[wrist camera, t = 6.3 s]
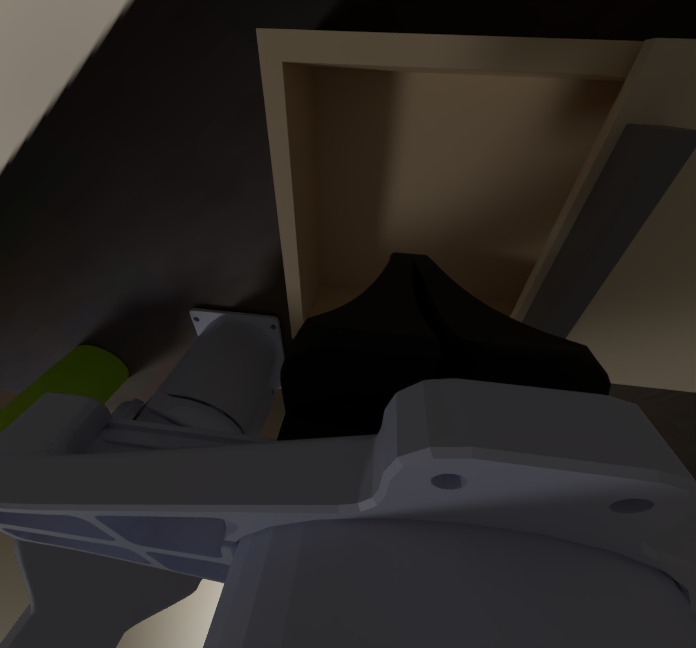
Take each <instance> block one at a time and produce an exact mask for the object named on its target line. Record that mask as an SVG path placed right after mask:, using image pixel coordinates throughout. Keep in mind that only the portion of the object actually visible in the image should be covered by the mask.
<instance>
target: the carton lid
mask: <svg viewBox="0 0 696 648" xmlns="http://www.w3.org/2000/svg"><path fill="white" fill-rule="evenodd" d="M510 317H511V318H513V319H515V320H517V321H519V322H522V323H524V324H526V325H529V326H531V327H534V328H536V329H539V330H541V331H544V332H546V333H549V334H552V335H555V336H558V337H561V338H564V339H567V340H571V341H574V342H577V343H580V344H583V345H586V346H587V347H588V348H589V349H590V351H591V352H592V354H593V355H594V356H595V358H596V359H597V360H598V362H599V363H600V364H601V366H602V367H603V368H604V370H605V371H606V372H607V374H608V376H609V380H610V383H615V384H624V385H633V386H642V387H651V388H660V389H669V390H678V391H687V392H696V39H677V38H653V39H648V40H645V42H644V44H643V46H642V48H641V50H640V52H639V54H638V56H637V58H636V60H635V62H634V64H633V66H632V68H631V70H630V72H629V74H628V76H627V78H626V80H625V82H624V85H623V87H622V89H621V91H620V93H619V95H618V97H617V99H616V101H615V103H614V105H613V107H612V109H611V111H610V113H609V115H608V117H607V119H606V121H605V123H604V125H603V127H602V130H601V132H600V134H599V136H598V138H597V140H596V142H595V144H594V146H593V148H592V150H591V152H590V154H589V156H588V158H587V160H586V162H585V164H584V166H583V168H582V170H581V172H580V174H579V177H578V179H577V181H576V183H575V185H574V187H573V189H572V191H571V193H570V195H569V197H568V199H567V201H566V203H565V205H564V207H563V209H562V211H561V213H560V215H559V217H558V219H557V222H556V224H555V226H554V228H553V230H552V232H551V234H550V236H549V238H548V240H547V242H546V244H545V246H544V248H543V250H542V252H541V254H540V256H539V258H538V260H537V262H536V264H535V266H534V269H533V271H532V273H531V275H530V277H529V279H528V281H527V283H526V285H525V287H524V289H523V291H522V293H521V295H520V297H519V299H518V301H517V303H516V305H515V307H514V309H513V311H512V314H511V316H510Z"/></svg>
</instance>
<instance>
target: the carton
mask: <svg viewBox="0 0 696 648" xmlns="http://www.w3.org/2000/svg"><path fill="white" fill-rule="evenodd" d="M256 32H257V41H258V49H259V58H260V67H261V75H262V84H263V93H264V101H265V110H266V118H267V127H268V136H269V144H270V153H271V161H272V170H273V179H274V187H275V196H276V204H277V213H278V222H279V230H280V239H281V247H282V256H283V265H284V273H285V282H286V291H287V299H288V308H289V316H290V325H291V334H292V339H294V337H295V336H296V334H297V332H298V331H299V329H300V328H301V326H302V325H303V323H304V322H305V320H306V319H307V318H309V317H313V316H316V315H319V314H322V313H325V312H328V311H331V310H334V309H336V308H338V307H340V306H342V305H344V304H346V303H348V302H350V301H352V300H353V299H355V298H356V297H357V296H359V295H360V294H361V293H363V292H364V291H365V290H366V289H367V288H368V287H369V286H370V285H371V284H372V283H373V282H374V281H375V280H376V279H377V278H378V276H379V275H380V274H381V273H382V271H383V270H384V268H385V267H386V265H387V263H388V262H389V260H390V255H391V254H392V253H394V252H397V253H409V254H421V255H427V256H428V257H430V258H431V259H432V260H433V261H434V262H435V263H436V264H437V265H438V266H439V267H440V268H441V269H442V270H443V271H444V272H445V273H446V274H447V275H448V276H449V277H450V278H451V279H452V280H454V281H455V282H456V283H457V284H458V285H460V286H461V287H462V288H463V289H464V290H466V291H467V292H468V293H470V294H471V295H473V296H474V297H476V298H477V299H479V300H480V301H482V302H483V303H485V304H486V305H488V306H490V307H492V308H493V309H495V310H497V311H499V312H501V313H503V314H505V315H507V316H509V317H510V316H511V314H512V311H513V309H514V307H515V305H516V303H517V301H518V299H519V297H520V295H521V293H522V291H523V289H524V287H525V285H526V283H527V281H528V279H529V277H530V275H531V273H532V271H533V269H534V266H535V264H536V262H537V260H538V258H539V256H540V254H541V252H542V250H543V248H544V246H545V244H546V242H547V240H548V238H549V236H550V234H551V232H552V230H553V228H554V226H555V224H556V222H557V219H558V217H559V215H560V213H561V211H562V209H563V207H564V205H565V203H566V201H567V199H568V197H569V195H570V193H571V191H572V189H573V187H574V185H575V183H576V181H577V179H578V177H579V174H580V172H581V170H582V168H583V166H584V164H585V162H586V160H587V158H588V156H589V154H590V152H591V150H592V148H593V146H594V144H595V142H596V140H597V138H598V136H599V134H600V132H601V130H602V127H603V125H604V123H605V121H606V119H607V117H608V115H609V113H610V111H611V109H612V107H613V105H614V103H615V101H616V99H617V97H618V95H619V93H620V91H621V89H622V87H623V85H624V82H625V80H626V78H627V76H628V74H629V72H630V70H631V68H632V66H633V64H634V62H635V60H636V58H637V56H638V54H639V52H640V50H641V48H642V46H643V44H644V42H645V41H622V40H592V39H561V38H531V37H501V36H471V35H441V34H410V33H380V32H350V31H320V30H290V29H259V28H256Z"/></svg>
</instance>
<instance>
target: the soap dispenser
mask: <svg viewBox="0 0 696 648" xmlns="http://www.w3.org/2000/svg"><path fill="white" fill-rule="evenodd" d="M128 377H129V371H128V368H127V367H126V365H125V364H124V363H123V362H122V361H121V360H120V359H119V358H118V357H116V356H115V355H113V354H112V353H110V352H108V351H106V350H104V349H102V348H99V347H96V346H91V345H80V346H77V347H76V348H75V349H73V350H72V351H71V352H70V353H69V354H67V355H66V356H65V357H64V358H62V359H61V360H60V361H59V362H58V363H56V364H55V365H54V366H53V367H52V368H50V369H49V370H48V371H47V372H46V373H44V374H43V375H42V376H41V377H40V378H38V379H37V380H36V381H35V382H33V383H32V384H31V385H30V386H29V387H27V388H26V389H25V390H24V391H23V392H21V393H20V394H19V395H18V396H17V397H15V398H14V399H13V400H12V401H11V402H9V403H8V404H7V405H6V406H5V407H3V408H2V409H1V410H0V433H1V432H2V431H3V430H5V429H6V428H7V427H8V426H9V425H10V424H11V423H12V422H14V421H15V420H16V419H17V418H18V417H19V416H20V415H22V414H23V413H24V412H25V411H26V410H27V409H28V408H29V407H31V406H32V405H33V404H34V403H35V402H36V401H37V400H38V399H40V398H41V397H42V396H43V395H44V394H45V393H46V392H57V393H65V394H73V395H81V396H88V397H91V398H94V399H96V400H98V401H100V402H101V403H103V404H105V403H106V402H107V400H108V399H109V398H110V397H111V396H112V395H113V394H114V393H115V392H116V390H117V389H118V388H119V387H120V386H121V385H122V384H123V383H124V382H125V381H126V379H127V378H128Z"/></svg>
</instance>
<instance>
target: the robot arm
mask: <svg viewBox="0 0 696 648" xmlns="http://www.w3.org/2000/svg"><path fill="white" fill-rule="evenodd" d="M189 313H190V316H191V319H192V321H193V324H194V327H195V329H196V332H197V334H198V338H197V339H196V341H195V342H194V343H193V345H192V346H191V347H190V348H189V350H188V351H187V352H186V354H185V355H184V356H183V357H182V359H181V360H180V361H179V363H178V364H177V365H176V367H175V368H174V369H173V370H172V372H171V373H170V374H169V376H168V377H167V378H166V380H165V381H164V382H163V383H162V385H161V386H160V387H159V389H158V390H157V391H156V392H155V394H154V395H153V396H152V397H151V398H150V399H149V400H148V401H147V402H146V403H145V404H144V405H143V403H144V402H143V401H141V400H139V399H133V400H132V401H127V402H123V403H121V404H120V405H119V406H118V407H117V408H116V409H115V411H114V412H113V413H112V414H111V413H110V412H109V410H108V409H107V407H106V406H105V405H104V404H103V403H101V402H100V401H98V400H96V399H94V398H91V397H88V396H81V395H73V394H65V393H57V392H46V393H45V394H44V395H43V396H42V397H41V398H40V399H38V400H37V401H36V402H35V403H34V404H33V405H32V406H31V407H29V408H28V409H27V410H26V411H25V412H24V413H23V414H22V415H20V416H19V417H18V418H17V419H16V420H15V421H14V422H12V423H11V424H10V425H9V426H8V427H7V428H6V429H5V430H3V431H2V432H1V433H0V531H1V532H3V533H5V534H7V535H9V536H12V537H14V538H16V541H15V542H14V551H15V556H16V559H17V562H18V565H19V568H20V571H21V574H22V578H23V580H24V584H25V587H26V590H27V593H28V596H29V599H30V604H29V606H28V607H27V608H26V610H25V611H24V612H23V614H22V615H21V616H20V618H19V619H18V621H17V622H16V623H15V625H14V626H13V627H12V629H11V630H10V631H9V633H8V634H7V635H6V637H5V638H4V640H3V641H2V642H1V644H0V648H116V646H117V645H118V643H119V641H120V639H121V638H122V636H123V634H124V633H125V632H126V631H127V630H128V629H130V628H131V627H133V626H134V625H136V624H138V623H140V622H141V621H143V620H145V619H147V618H148V617H150V616H152V615H154V614H156V613H158V612H160V611H162V610H163V609H166V608H168V607H169V606H171V605H173V604H175V603H177V602H178V601H180V600H182V599H184V598H186V597H187V596H189V595H191V594H192V593H193V592H194V591H195V590H196V589H197V587H198V585H199V583H200V581H201V580H202V579H208V580H212V581H217V582H221V583H225V584H224V587H223V590H222V593H221V596H220V599H219V602H218V605H217V607H216V611H215V614H214V617H213V620H212V623H211V626H210V628H209V632H208V634H207V637H206V640H205V643H204V646H203V648H696V481H695V479H694V478H693V477H692V476H691V474H690V473H689V472H688V470H687V469H686V468H685V466H684V465H683V464H682V463H681V461H680V460H679V459H678V457H677V456H676V455H675V453H674V452H673V451H672V450H671V448H670V447H669V446H668V444H667V443H666V442H665V440H664V439H663V438H662V437H661V435H660V434H659V433H658V431H657V430H656V429H655V427H654V426H653V425H652V424H651V422H650V421H649V420H648V418H647V417H646V416H645V414H644V413H643V412H642V410H641V409H640V408H639V407H638V405H636V404H633V403H630V402H626V401H623V400H620V399H617V398H614V397H611V396H608V395H609V391H610V386H611V383H610V380H609V376H608V374H607V372H606V371H605V370H604V368H603V367H602V366H601V364H600V363H599V362H598V360H597V359H596V358H595V356H594V355H593V354H592V352H591V351H590V349H589V348H588V347H587V346H586V345H583V344H580V343H577V342H574V341H571V340H567V339H564V338H561V337H558V336H555V335H552V334H549V333H546V332H544V331H541V330H539V329H536V328H534V327H531V326H529V325H526V324H524V323H522V322H519V321H517V320H515V319H513V318H511V317H509V316H507V315H505V314H503V313H501V312H499V311H497V310H495V309H493V308H492V307H490V306H488V305H486V304H485V303H483V302H482V301H480V300H479V299H477V298H476V297H474V296H473V295H471V294H470V293H468V292H467V291H466V290H464V289H463V288H462V287H461V286H460V285H458V284H457V283H456V282H455V281H454V280H452V279H451V278H450V277H449V276H448V275H447V274H446V273H445V272H444V271H443V270H442V269H441V268H440V267H439V266H438V265H437V264H436V263H435V262H434V261H433V260H432V259H431V258H430V257H428V256H427V255H421V254H409V253H397V252H394V253H392V254H391V255H390V260H389V262H388V263H387V265H386V267H385V268H384V270H383V271H382V273H381V274H380V275H379V276H378V278H377V279H376V280H375V281H374V282H373V283H372V284H371V285H370V286H369V287H368V288H367V289H366V290H365V291H364V292H363V293H361V294H360V295H359V296H357V297H356V298H355V299H353V300H352V301H350V302H348V303H346V304H344V305H342V306H340V307H338V308H336V309H334V310H331V311H328V312H325V313H322V314H319V315H316V316H313V317H309V318H307V319H306V320H305V322H304V323H303V325H302V326H301V328H300V329H299V331H298V332H297V334H296V336H295V337H294V339H293V341H292V343H291V345H290V347H289V349H288V351H287V354H286V357H284V350H283V343H282V336H281V329H280V322H279V319H278V318H277V317H275V316H269V315H259V314H249V313H240V312H230V311H220V310H210V309H201V308H192V309H191V310H190V312H189ZM198 318H199V319H198ZM272 325H274V326H276V327H274V326H272ZM278 388H281V389H282V394H283V400H284V406H285V412H286V413H285V417H284V420H283V423H282V426H281V429H280V432H279V435H278V438H277V439H276V438H269V437H261V436H260V434H261V431H262V429H263V426H264V423H265V421H266V418H267V415H268V413H269V410H270V408H271V405H272V402H273V400H274V397H275V394H276V392H277V389H278ZM142 405H143V406H142Z"/></svg>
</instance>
